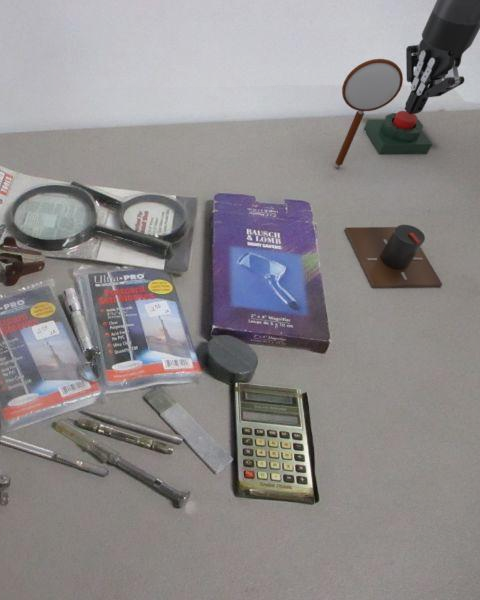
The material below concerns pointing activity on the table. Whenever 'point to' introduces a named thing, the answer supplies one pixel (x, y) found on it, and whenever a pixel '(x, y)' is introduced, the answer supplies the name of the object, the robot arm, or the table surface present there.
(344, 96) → the magnifying glass
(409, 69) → the robot arm
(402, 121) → the button
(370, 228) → the panel
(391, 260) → the knob
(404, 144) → the button box
